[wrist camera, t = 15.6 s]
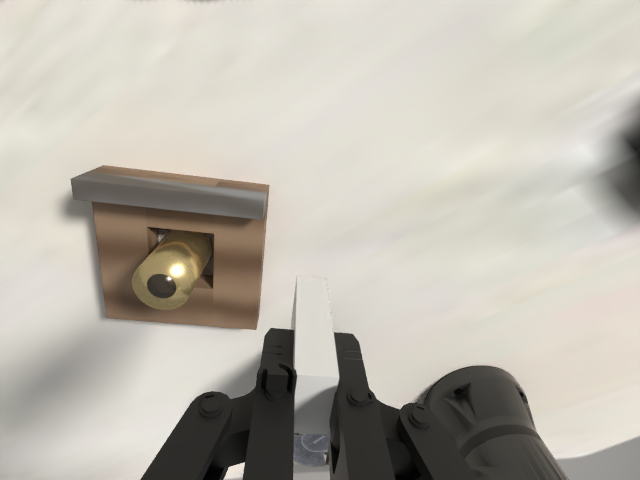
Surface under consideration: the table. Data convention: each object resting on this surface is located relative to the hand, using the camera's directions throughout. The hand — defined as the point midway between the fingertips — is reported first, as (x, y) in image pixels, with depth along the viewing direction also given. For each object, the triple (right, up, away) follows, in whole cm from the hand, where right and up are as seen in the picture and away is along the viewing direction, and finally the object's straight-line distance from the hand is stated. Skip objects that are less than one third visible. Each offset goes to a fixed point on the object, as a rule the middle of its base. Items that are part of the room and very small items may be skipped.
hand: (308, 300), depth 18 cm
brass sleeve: (-15, +2, +25) cm, 29 cm away
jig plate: (-15, +2, +25) cm, 29 cm away
